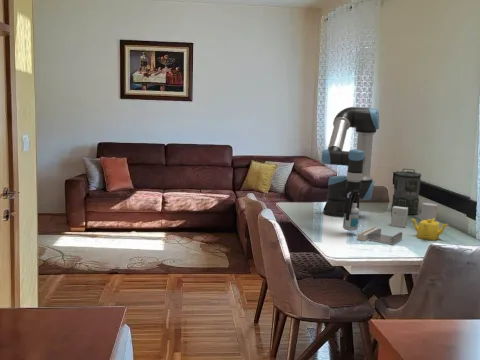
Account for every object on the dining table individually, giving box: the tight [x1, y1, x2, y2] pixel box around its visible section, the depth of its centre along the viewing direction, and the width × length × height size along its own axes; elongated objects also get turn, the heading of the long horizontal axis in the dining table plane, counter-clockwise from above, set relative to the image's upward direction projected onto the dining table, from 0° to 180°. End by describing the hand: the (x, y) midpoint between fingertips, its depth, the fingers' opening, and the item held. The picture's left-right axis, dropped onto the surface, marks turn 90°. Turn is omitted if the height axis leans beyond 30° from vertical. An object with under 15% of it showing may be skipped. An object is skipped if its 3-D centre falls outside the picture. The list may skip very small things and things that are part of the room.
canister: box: [391, 168, 422, 215], centre depth 341 cm, size 16×16×28 cm
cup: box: [420, 202, 438, 222], centre depth 308 cm, size 8×8×12 cm
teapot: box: [411, 218, 450, 242], centre depth 276 cm, size 15×14×10 cm
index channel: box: [368, 228, 403, 246], centre depth 266 cm, size 12×14×4 cm
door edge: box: [356, 226, 380, 242], centre depth 271 cm, size 4×20×3 cm, turn 147°
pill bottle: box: [342, 203, 360, 232], centre depth 274 cm, size 8×7×14 cm
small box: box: [390, 206, 409, 228], centre depth 301 cm, size 8×6×10 cm
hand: (350, 224), depth 274 cm, fingers closed on pill bottle, 7 cm apart
